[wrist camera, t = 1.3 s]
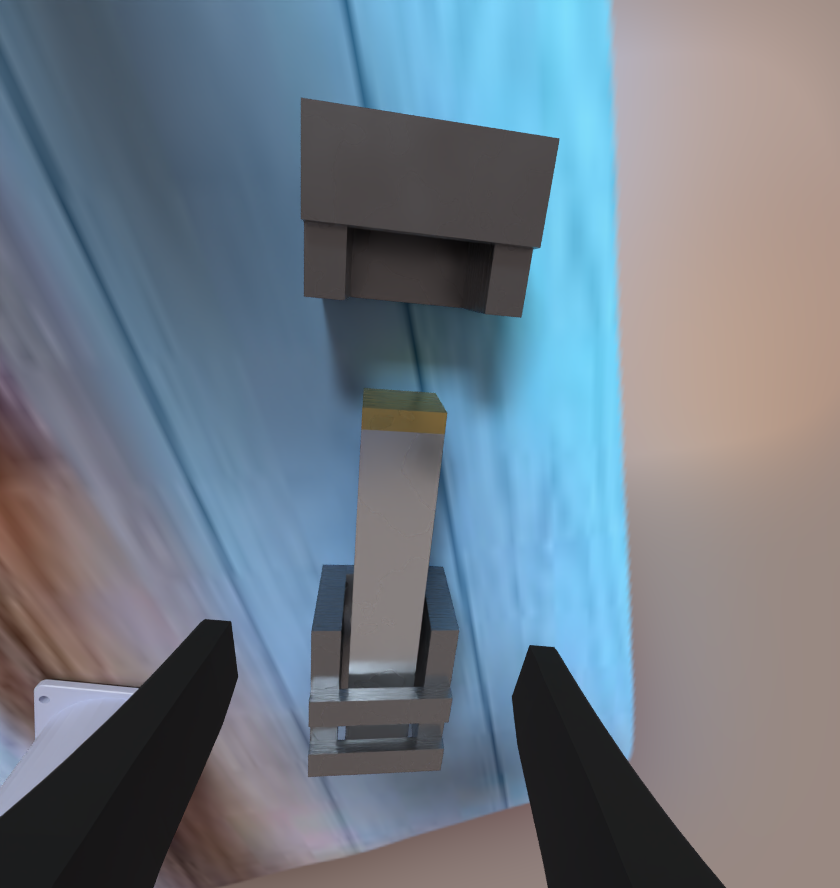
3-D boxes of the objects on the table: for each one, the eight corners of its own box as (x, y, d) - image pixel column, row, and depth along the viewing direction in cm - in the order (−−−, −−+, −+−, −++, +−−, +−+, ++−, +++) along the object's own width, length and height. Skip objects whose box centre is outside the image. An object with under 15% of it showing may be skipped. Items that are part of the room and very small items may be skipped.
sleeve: (427, 679, 25) (440, 770, 20) (320, 682, 24) (308, 776, 19) (443, 566, 22) (462, 641, 18) (322, 564, 21) (309, 642, 17)
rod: (400, 708, 24) (403, 764, 21) (347, 710, 24) (343, 766, 21) (435, 392, 18) (447, 413, 15) (363, 388, 17) (362, 407, 15)
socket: (485, 309, 18) (527, 318, 13) (321, 293, 17) (300, 297, 12) (503, 182, 16) (559, 138, 11) (323, 156, 15) (300, 97, 10)
